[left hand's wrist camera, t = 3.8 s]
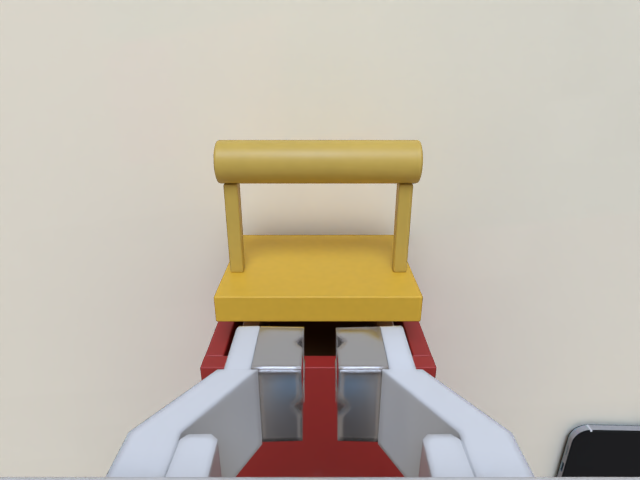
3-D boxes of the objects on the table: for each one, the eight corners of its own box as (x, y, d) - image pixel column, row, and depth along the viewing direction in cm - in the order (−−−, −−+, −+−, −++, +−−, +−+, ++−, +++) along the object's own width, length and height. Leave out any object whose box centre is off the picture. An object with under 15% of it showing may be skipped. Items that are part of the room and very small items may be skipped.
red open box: (236, 273, 27) (200, 367, 19) (400, 273, 27) (436, 367, 19) (252, 495, 34) (231, 636, 26) (384, 495, 34) (405, 636, 26)
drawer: (233, 125, 23) (199, 152, 16) (403, 125, 23) (436, 152, 16) (256, 466, 31) (240, 573, 25) (380, 466, 31) (396, 572, 25)
